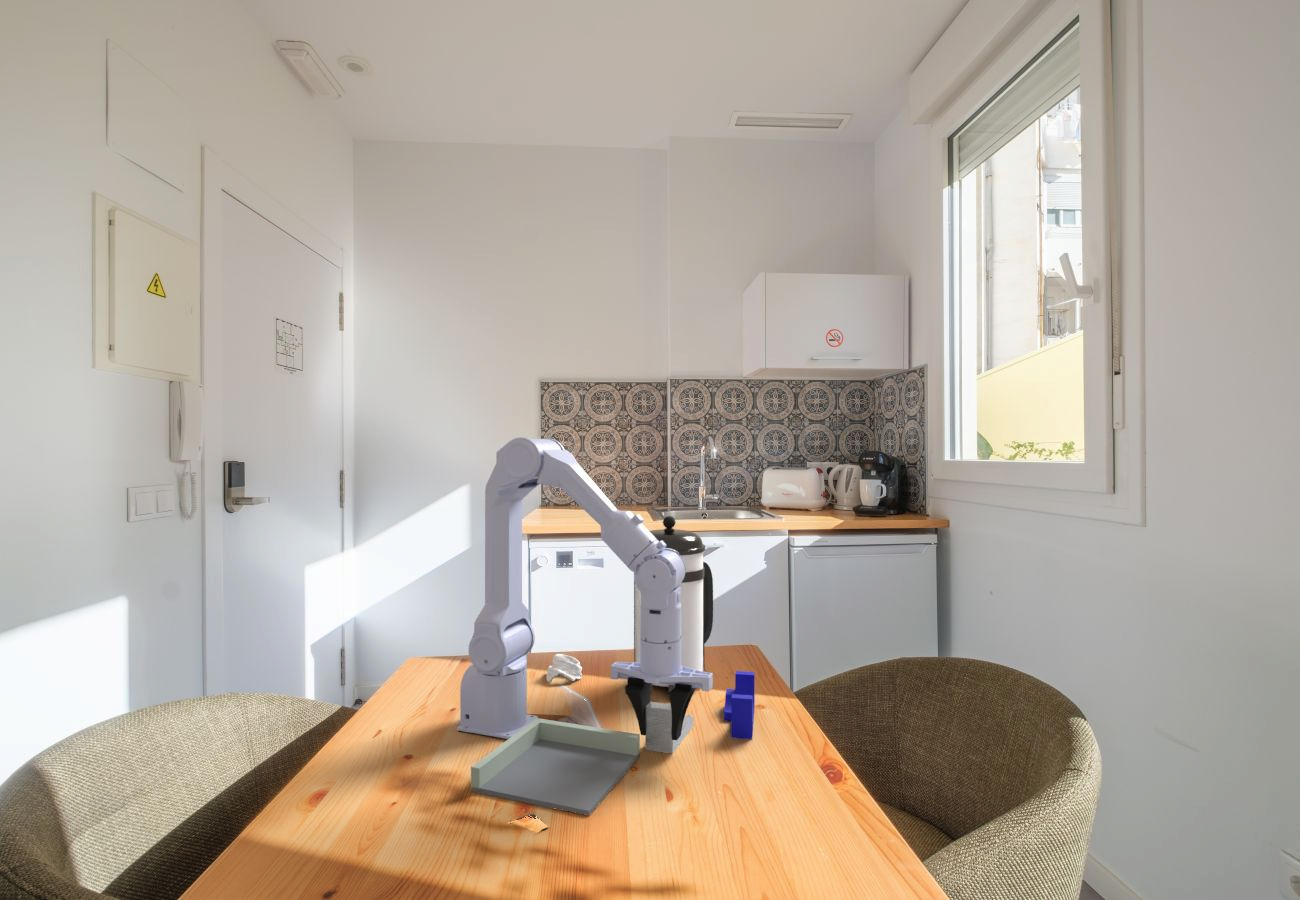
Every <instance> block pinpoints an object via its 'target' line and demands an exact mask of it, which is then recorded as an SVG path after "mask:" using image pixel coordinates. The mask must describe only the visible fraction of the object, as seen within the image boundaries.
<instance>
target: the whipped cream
mask: <svg viewBox="0 0 1300 900" xmlns="http://www.w3.org/2000/svg"><path fill="white" fill-rule="evenodd" d="M551 661H552V665H549V666H548V667H547V670H546V672H547V674H546V676H545V677H546V678H545V679H546V682H547V683H550V684H551V683H552V680H553V679H554V678H556V677H558V676H562V677H564V678H567V679H568V680H571V681H572V682H575V681H576V680H579V679H580V678H582V676H583V674H582V670H583V667H582V666H581V662H580V661H579V660H578V659H577V658H575V657H574V656H570V655H566V654H562V653H557V654H555V655H554V656H553V658H552V660H551ZM580 676H581V677H580ZM580 680H581V679H580Z"/></svg>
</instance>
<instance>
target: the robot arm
mask: <svg viewBox="0 0 1300 900" xmlns="http://www.w3.org/2000/svg"><path fill="white" fill-rule="evenodd" d="M495 458H496V459H495V460H496V462H495V465H494V467H493V469H492V471H491V474H490V476H489V479H488V480H487V482H486V484H485V489H484V490H485V491H484V493H485V495H484V497H485V500H484V503H485V504H484V505H485V506H484V509H485V510H484V522H485V523H484V524H485V525H484V531H485V532H484V534H485V535H484V536H485V537H484V541H485V542H484V548H485V549H484V605H483V608H482V609H481V611H480V612H479V614H478V615H477V617H476V619H475V621H474V622H473V624H474V625H473V626H474V627H473V635H472V637H471V638H470V641H469V644H468V656H469V660H470V662H471V665H469V666H468V667H467V669H466V670H465V671H464V673H463V675H462V678H461V680H460V681H461V682H460V690H459V696H460V697H459V699H460V700H459V701H460V702H459V703H460V706H459V707H460V715H459V717H460V719H459V720H460V721H459V722H460V724H459V725H458V726H457V727H456V729H457V731H460V732H466V733H470V734H471V733H473V734H477V735H482V736H483V735H484V736H489V737H494V738H500V739H506V740H508V739H509V738H510V737H512V736H513V735H515V734H516V733H517V732H519V731H520V730H521V729H523V728H524V727H525V726H527V725H528V724H529V723H531V722H532V721H533V720H535V719H536V718H539V717H538V715H532V714H528V712H527V710H528V709H527V708H528V707H527V706H528V703H527V702H528V699H527V698H528V697H527V696H528V693H527V691H528V690H527V688H528V683H527V682H528V678H527V677H528V674H527V669H528V668H527V667H528V664H527V661H528V654H529V653H530V652H531V651H532V649H533V647H534V645H535V641H536V639H535V638H536V636H535V631H534V628H533V626H532V623H531V621H530V610H529V608H528V607H527V606H526V605H525V604H524V603H523V600H522V599H523V598H522V597H523V596H522V595H523V594H522V590H523V589H522V588H523V587H522V586H523V584H522V581H523V579H522V577H523V576H522V575H523V573H522V572H523V568H522V567H523V555H522V553H523V550H522V549H523V543H522V542H523V500H524V498H525V497H526V496H528V494H530V493H531V492H533V490H535V488H537V487H538V486H539V485H543V486H548V487H549V486H550V487H553V488H560V489H561V490H563V491H564V492H565V493H566V494H567V495H568V496H569V497H570V498H571V499H572V500H573V501H575V502H576V504H577V505H579V506H580V508H581V509H583V511H584V512H585V513H587V514H588V516H590V517H591V518H592V519H593V520H594V521H595V523H598V524H599V526H600V537H601V538H600V539H601V540H602V542H604V544H606V545H607V547H608V548H609V549H610V550H611V551H612V552H613V553H614V554H615V555H616V556H617V558H618V559H619V560H620V561H621V562H622V564H624V566H626V567H627V568H628V570H630V571H631V572H633V582H634V581H635V584H636V586H637V588H638V589H639V591H640V592H641V606H640V609H641V625H640V662H634V661H633V662H632V661H630V662H628V661H625V662H624V661H615V662H613V663H612V664H611V665H610V679H611V680H619V679H623V680H624V679H625V680H627V679H628V682H626V685H625V687H624V693H625V695H626V696H627V698H628V700H629V701H630V704H631V705H632V708H633V711H634V712H635V717H636V719H637V722H638V727H639V731H640V732H639V734H640V735H641V736H646V706H647V705H648V704H649V703H650V702H652V701H651V698H652V689H653V685H652V683H654V684H658V683H660V684H668V685H675V688H673V689H672V690H671V692H670V693H669V695H668V698H669V697H670V699H669V704H671V712H672V729H671V735H672V740H678V738H679V737H680V736H681V731H682V725H683V721H684V717H685V715H687V714H686V713H687V709H688V708H689V706H690V702H691V700H692V698H693V695H694V694H695V692H696V689H700V690H701V691H703V692H707V693H708V692H710V691H712V688H713V687H714V678H713V675H714V674H713V672H707V671H706V672H705V671H704V670H703V671H699V670H695V669H691V668H687V667H684V666H681V587H678V588H676V587H677V586H679V585H680V583H681V582H682V581H683V579H684V577H685V572H686V568H685V563H684V561H683V559H682V558H681V557H680V555H679V553H678V552H677V551H676V550H673V549H670V548H665V547H666V544H665V543H664V542H663V540H662V541H660V542H659V541H658V540H657V539H656V538H655V536H654V535H653V534H652V533H651V532H650V531H651V530H649V529H648V528H647V527H646V526H645V525H644V524H643V522H644V521H645V518H644V517H642V515H641V514H639V513H637V514H634V513H633V512H632V511H631V510H620V509H618V508H617V507H616V506H615V505H614V504H613V502H611V500H610V499H609V498H608V497H607V496H606V495H607V494H605V493H604V492H603V491H602V489H600V487H599V486H598V485H597V484H596V483H595V481H594V480H593V479H592V478H591V477H590V476H589V475H588V473H587V472H586V471H585V469H584V468H583V467H582V466H581V465H580V464H579V462H578V461H577V460H576V458H575V456H574V455H573V454H572V452H570V451H569V450H568V449H565V448H564V445H562V444H561V443H560V442H559V440H557V439H554V438H551V437H545V438H527V437H522V436H521V437H515V438H513V439H510V440H509V441H508V442H507V443H506V444H505V445H503V446H502V447H501V448H500V449H499V450H497V452H496V457H495ZM634 573H635V575H634ZM675 588H676V589H675ZM673 589H674V590H673Z"/></svg>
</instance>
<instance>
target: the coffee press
mask: <svg viewBox="0 0 1300 900" xmlns="http://www.w3.org/2000/svg"><path fill="white" fill-rule="evenodd" d="M676 523H677V522H676V520H675V518H674V516H671V515H668V516H665V517H664V518H663V520H662V525H663V527H664V529H663V528H662V529H661V528H660V529H653V530H649V531H650V532H651V533H652V534H653V535H654V536H655V538H656V539H657V540H658V541H659V542H660V541H662V540H663V542H664V543H665V544H666V547H665V548H670V549H673V550H676V551H677V552H678V553H679V555H680V557H681V558H682V559H683V561H684V563H685V568H686V572H685V577H684V579H683V581H682V582H681V583H680V585H679V586H677V587H676V588H678V587H681V666H684V667H687V668H691V669H695V670H699V671H703V672H707V671H706V669H705V644H706V643H707V642H708V641H709V638H710V637H711V633H712V630H713V625H714V624H713V623H714V584H713V583H714V582H713V581H714V579H713V574H712V570H711V567H710V565H709V564H708V563H707V562H705V561H704V554H705V551H706V545H705V544H704V543H703V540H702V537H700V536H699V535H698V534H697V533H695V532H693V531H690V530H684V529H675V528H674V527H675V525H676ZM634 575H635V573H634V572H633V576H634ZM676 588H675V589H676ZM673 590H674V589H673ZM640 606H641V592H640V591H639V589H638V588H637V586H636V584H635V581H634V580H633V662H640V625H641V609H640ZM626 681H627V682H628V679H626ZM627 682H626V683H627ZM652 686H657V687H658V686H659V687H667V691H668V700H670V697H669V693H670V692H671V690H672V689H673V688H675V685H668V684H660V683H658V684H654V683H652Z"/></svg>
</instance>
